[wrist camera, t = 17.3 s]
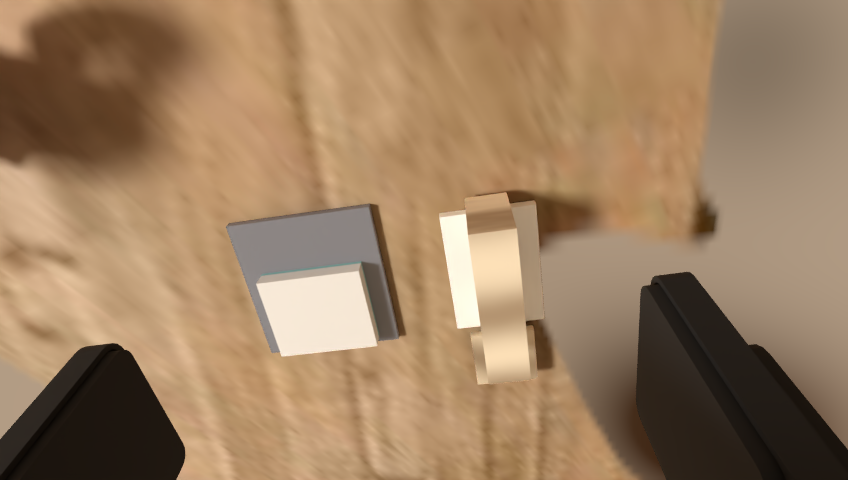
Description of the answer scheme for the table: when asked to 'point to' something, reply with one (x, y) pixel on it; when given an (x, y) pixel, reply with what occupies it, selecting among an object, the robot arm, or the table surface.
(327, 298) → the tile
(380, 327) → the mat
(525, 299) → the pad
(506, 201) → the beige piece
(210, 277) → the table surface
